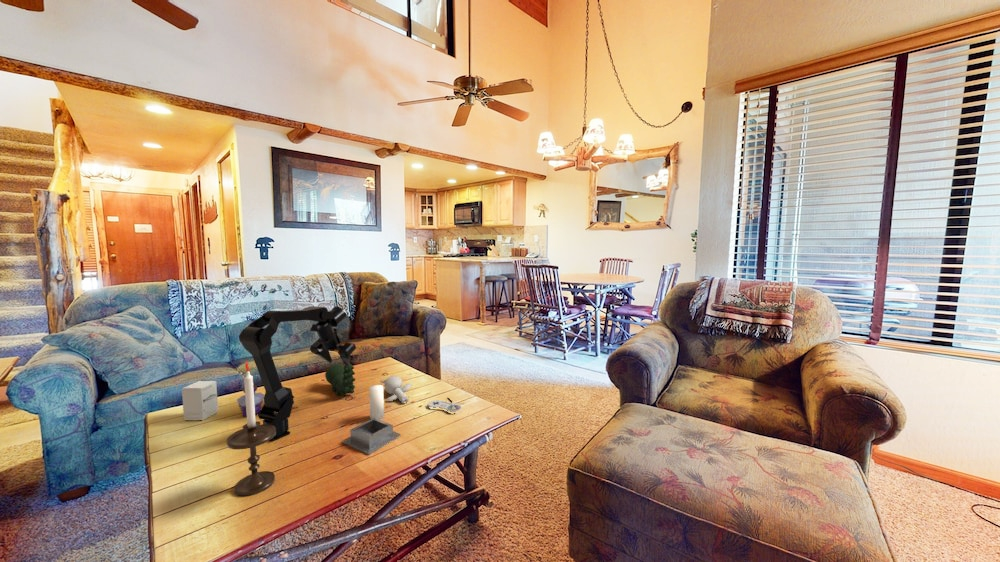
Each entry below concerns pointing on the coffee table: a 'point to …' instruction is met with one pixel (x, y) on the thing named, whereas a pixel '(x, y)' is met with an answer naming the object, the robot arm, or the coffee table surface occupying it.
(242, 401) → the potion bottle
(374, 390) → the white round cylinder
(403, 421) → the coffee table surface
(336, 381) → the toy figurine
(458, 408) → the game controller
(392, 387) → the toy creature
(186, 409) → the supplement box
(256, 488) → the candlestick
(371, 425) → the metal roll holder
